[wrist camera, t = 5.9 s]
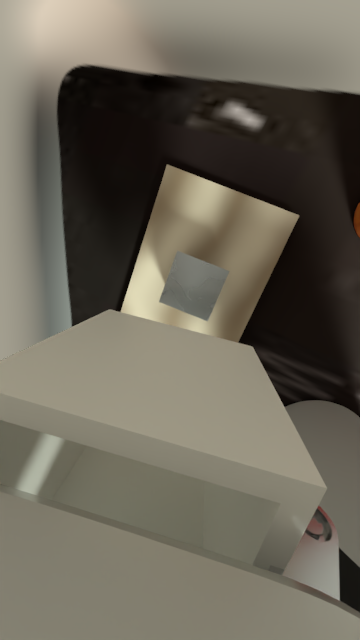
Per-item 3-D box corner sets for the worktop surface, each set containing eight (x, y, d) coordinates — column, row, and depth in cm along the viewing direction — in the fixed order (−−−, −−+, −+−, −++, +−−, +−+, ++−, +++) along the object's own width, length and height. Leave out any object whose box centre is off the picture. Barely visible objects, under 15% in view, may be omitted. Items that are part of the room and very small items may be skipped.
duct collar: (252, 346, 11) (327, 488, 4) (199, 503, 13) (189, 750, 7) (109, 309, 11) (-43, 380, 4) (84, 468, 14) (-35, 668, 7)
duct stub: (225, 269, 23) (229, 271, 18) (207, 309, 24) (207, 321, 19) (183, 253, 23) (177, 250, 18) (168, 294, 24) (158, 301, 19)
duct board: (293, 218, 22) (299, 215, 21) (219, 373, 27) (220, 379, 26) (169, 170, 23) (167, 164, 21) (118, 331, 27) (112, 335, 26)
